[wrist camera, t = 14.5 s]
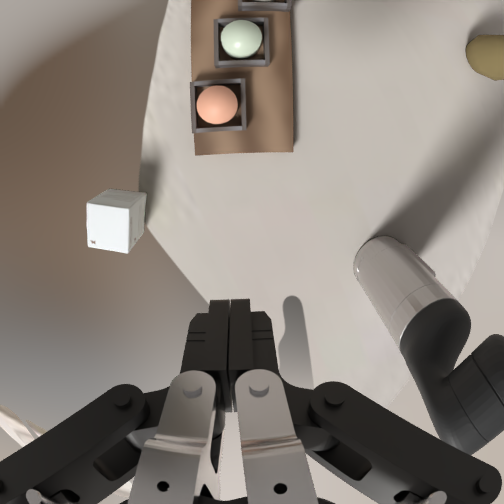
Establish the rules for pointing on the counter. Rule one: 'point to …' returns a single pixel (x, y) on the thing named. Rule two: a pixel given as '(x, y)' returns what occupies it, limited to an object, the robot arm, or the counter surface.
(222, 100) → the terracotta button
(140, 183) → the counter surface
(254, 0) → the cream button
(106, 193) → the product box
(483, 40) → the squeeze bottle
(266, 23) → the button panel
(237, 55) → the sage button
